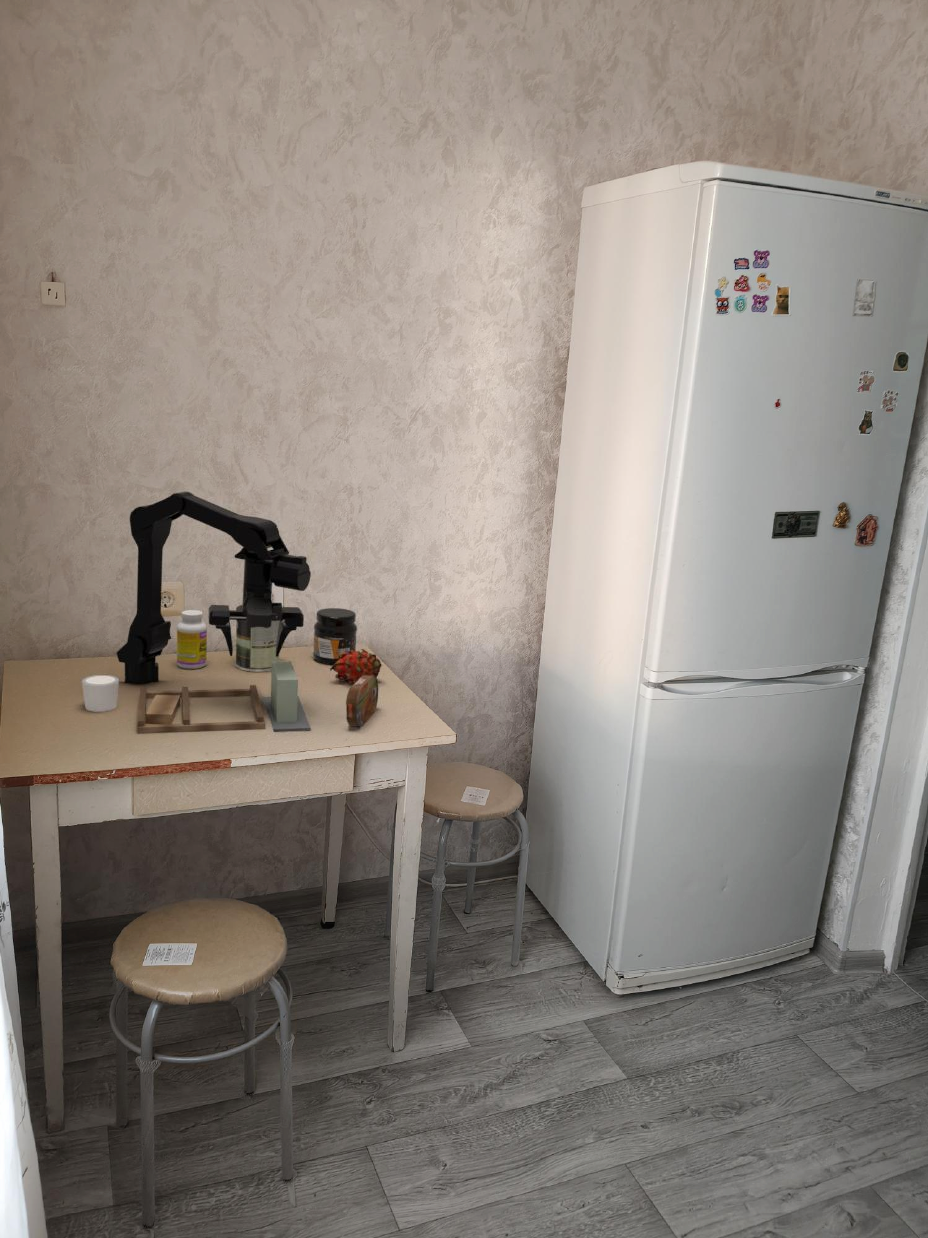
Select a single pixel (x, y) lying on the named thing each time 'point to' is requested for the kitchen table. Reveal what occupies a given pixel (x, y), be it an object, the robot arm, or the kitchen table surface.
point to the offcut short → (163, 709)
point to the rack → (186, 725)
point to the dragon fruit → (356, 665)
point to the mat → (287, 726)
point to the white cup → (100, 692)
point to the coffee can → (255, 646)
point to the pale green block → (284, 692)
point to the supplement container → (334, 634)
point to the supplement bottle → (191, 640)
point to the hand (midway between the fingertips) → (254, 655)
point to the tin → (362, 700)
